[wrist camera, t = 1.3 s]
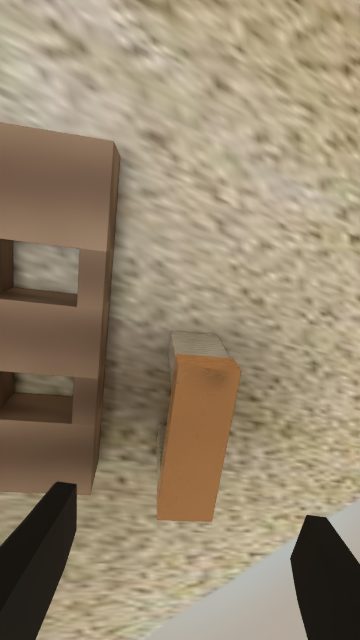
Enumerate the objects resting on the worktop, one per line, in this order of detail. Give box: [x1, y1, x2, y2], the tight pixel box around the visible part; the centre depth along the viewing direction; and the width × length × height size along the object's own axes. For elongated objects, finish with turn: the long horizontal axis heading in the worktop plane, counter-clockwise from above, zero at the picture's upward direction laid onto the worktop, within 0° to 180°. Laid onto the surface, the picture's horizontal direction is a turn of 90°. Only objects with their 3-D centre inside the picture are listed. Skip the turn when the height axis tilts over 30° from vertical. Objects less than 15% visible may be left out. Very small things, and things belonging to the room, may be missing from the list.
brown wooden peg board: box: [0, 123, 120, 495], centre depth 18 cm, size 20×7×3 cm, turn 173°
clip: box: [156, 330, 241, 522], centre depth 19 cm, size 9×3×6 cm, turn 173°
